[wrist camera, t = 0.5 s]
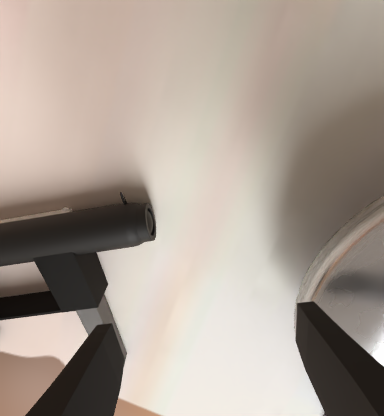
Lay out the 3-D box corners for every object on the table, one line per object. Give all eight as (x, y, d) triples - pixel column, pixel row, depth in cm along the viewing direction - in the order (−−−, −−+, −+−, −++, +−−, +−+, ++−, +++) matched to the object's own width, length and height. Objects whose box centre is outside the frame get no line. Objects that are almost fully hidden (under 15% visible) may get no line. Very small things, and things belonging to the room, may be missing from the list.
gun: (188, 369, 22) (137, 194, 15) (-30, 392, 24) (-165, 244, 17) (189, 334, 25) (146, 176, 18) (-5, 357, 27) (-111, 220, 20)
